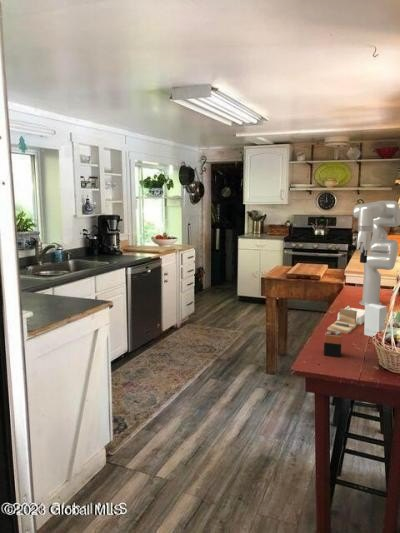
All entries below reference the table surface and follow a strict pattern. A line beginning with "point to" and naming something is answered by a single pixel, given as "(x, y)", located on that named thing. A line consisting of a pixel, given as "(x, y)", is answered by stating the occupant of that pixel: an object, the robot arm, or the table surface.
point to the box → (360, 315)
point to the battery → (332, 344)
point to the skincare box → (374, 319)
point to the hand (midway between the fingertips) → (363, 262)
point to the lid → (345, 321)
